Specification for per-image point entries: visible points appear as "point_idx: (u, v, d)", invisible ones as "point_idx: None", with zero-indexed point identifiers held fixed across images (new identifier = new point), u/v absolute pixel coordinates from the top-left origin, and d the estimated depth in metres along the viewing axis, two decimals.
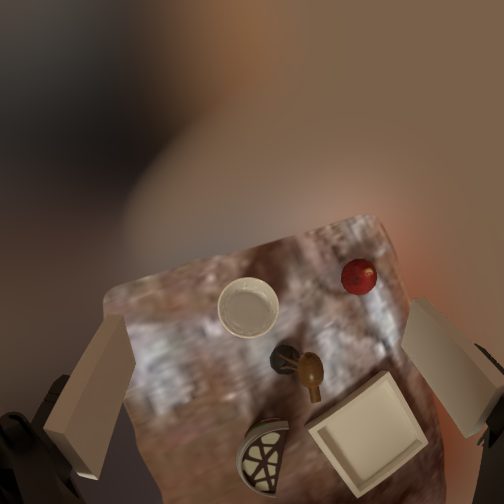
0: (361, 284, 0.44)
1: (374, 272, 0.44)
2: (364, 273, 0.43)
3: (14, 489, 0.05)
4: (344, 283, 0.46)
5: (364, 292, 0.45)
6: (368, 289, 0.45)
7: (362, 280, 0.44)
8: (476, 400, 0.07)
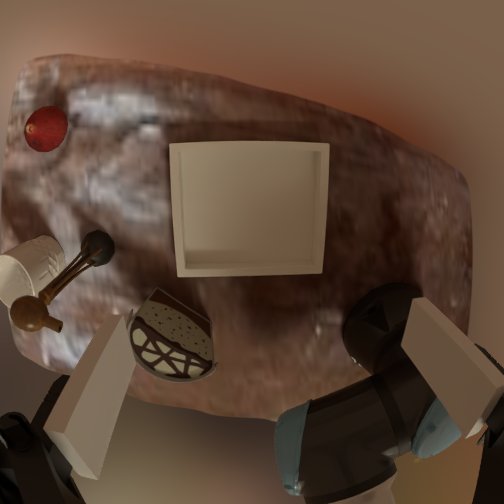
0: (41, 139, 0.27)
1: (39, 116, 0.26)
2: (30, 134, 0.26)
3: (15, 490, 0.05)
4: None
5: (57, 134, 0.28)
6: (54, 129, 0.28)
7: (37, 138, 0.26)
8: (476, 400, 0.07)
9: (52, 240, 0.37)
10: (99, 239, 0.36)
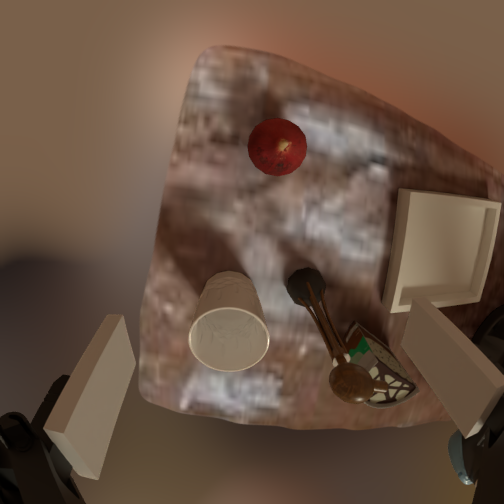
0: (291, 162, 0.27)
1: (289, 132, 0.26)
2: (282, 153, 0.26)
3: (14, 490, 0.05)
4: (271, 174, 0.30)
5: (303, 159, 0.29)
6: (304, 153, 0.28)
7: (287, 160, 0.27)
8: (476, 400, 0.07)
9: (246, 278, 0.37)
10: (319, 279, 0.36)
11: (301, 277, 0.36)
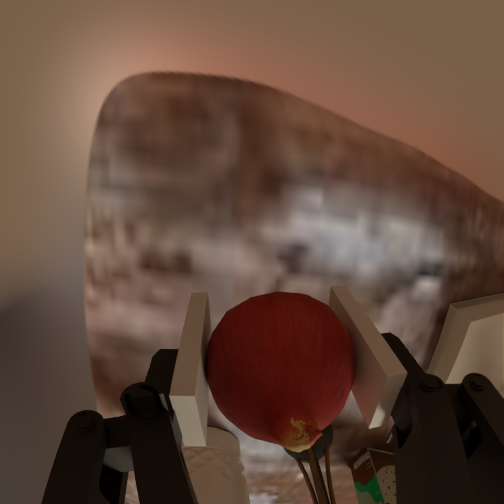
0: None
1: (317, 384, 0.08)
2: None
3: (119, 472, 0.07)
4: None
5: None
6: None
7: None
8: (373, 388, 0.09)
9: (224, 435, 0.23)
10: (325, 435, 0.22)
11: None
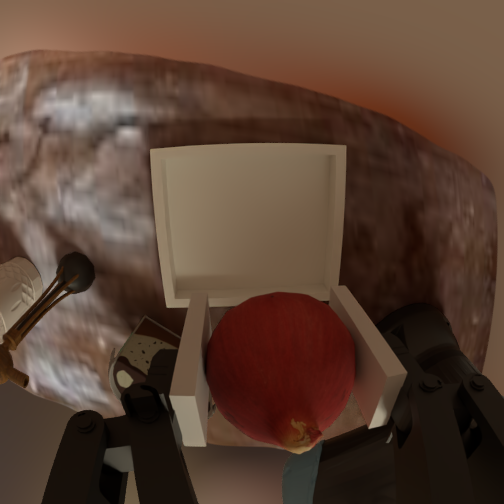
0: None
1: (318, 385, 0.08)
2: None
3: (119, 472, 0.07)
4: None
5: None
6: None
7: None
8: (373, 388, 0.09)
9: (27, 263, 0.30)
10: (76, 264, 0.30)
11: (61, 261, 0.30)
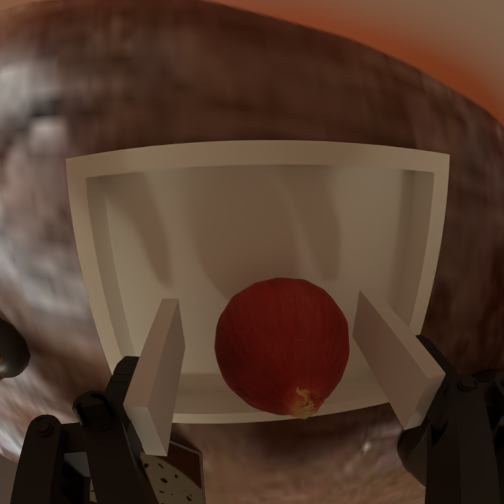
0: None
1: (318, 357, 0.10)
2: None
3: (79, 476, 0.06)
4: None
5: None
6: None
7: None
8: (411, 390, 0.09)
9: None
10: None
11: None
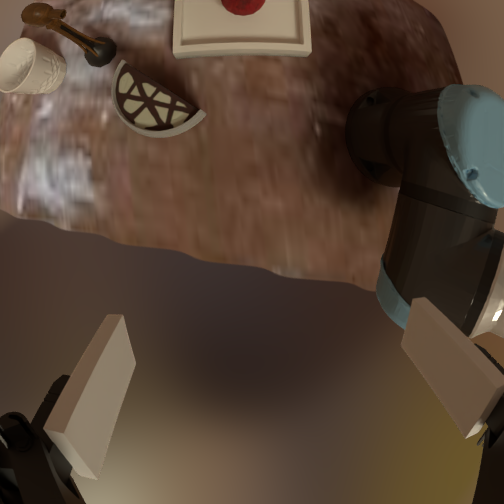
0: None
1: None
2: None
3: (15, 489, 0.05)
4: (239, 12, 0.29)
5: None
6: None
7: None
8: (476, 400, 0.07)
9: None
10: (104, 38, 0.31)
11: None
